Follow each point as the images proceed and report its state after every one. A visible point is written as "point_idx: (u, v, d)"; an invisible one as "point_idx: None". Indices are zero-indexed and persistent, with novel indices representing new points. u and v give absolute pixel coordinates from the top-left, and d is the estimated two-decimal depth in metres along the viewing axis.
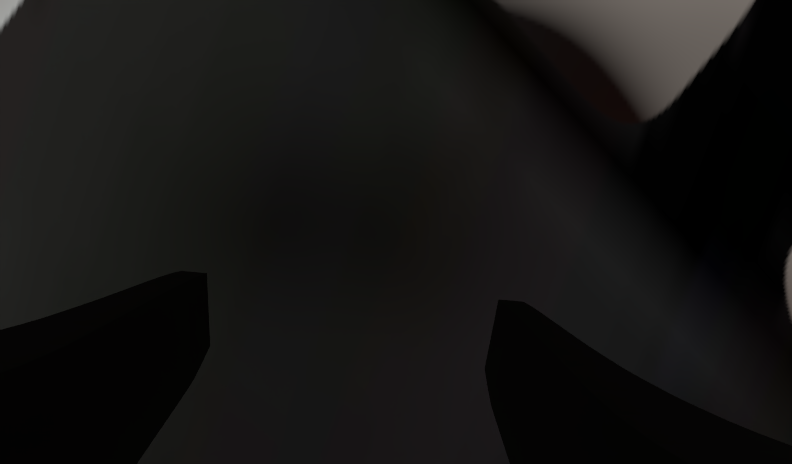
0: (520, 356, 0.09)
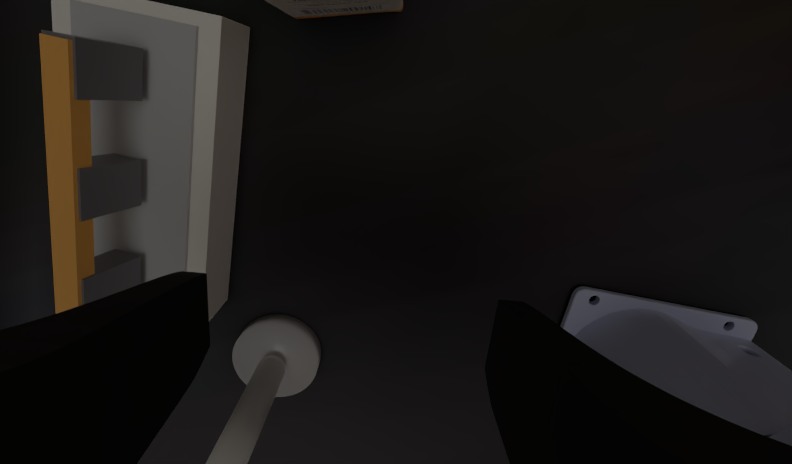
0: (521, 356, 0.09)
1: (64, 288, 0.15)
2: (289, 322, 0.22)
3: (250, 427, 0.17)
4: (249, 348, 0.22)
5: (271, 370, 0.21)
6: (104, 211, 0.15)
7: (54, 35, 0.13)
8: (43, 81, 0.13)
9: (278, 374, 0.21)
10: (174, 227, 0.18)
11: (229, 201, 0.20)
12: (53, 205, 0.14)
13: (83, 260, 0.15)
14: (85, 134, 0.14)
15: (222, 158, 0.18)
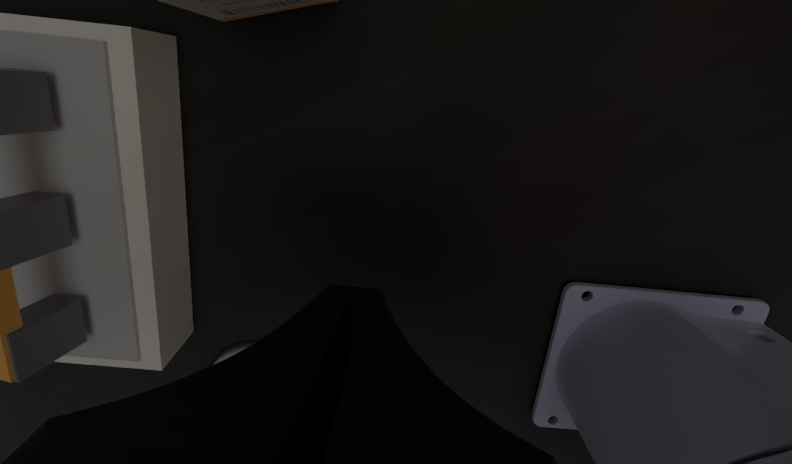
0: None
1: None
2: None
3: None
4: None
5: None
6: (24, 257, 0.14)
7: None
8: None
9: None
10: (114, 264, 0.16)
11: (177, 228, 0.18)
12: None
13: (5, 314, 0.14)
14: None
15: (160, 183, 0.16)
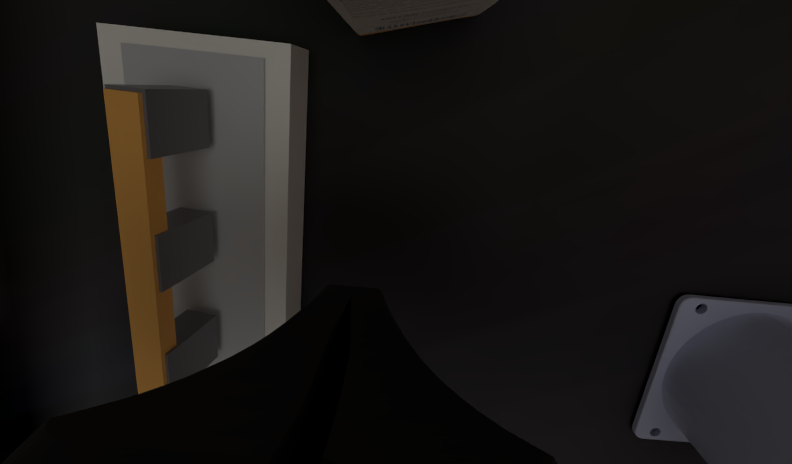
0: None
1: (146, 365, 0.14)
2: None
3: None
4: None
5: None
6: (182, 276, 0.14)
7: (120, 89, 0.11)
8: (111, 142, 0.12)
9: None
10: (250, 280, 0.16)
11: (298, 242, 0.18)
12: (129, 278, 0.13)
13: (165, 333, 0.14)
14: (159, 195, 0.12)
15: (294, 198, 0.16)
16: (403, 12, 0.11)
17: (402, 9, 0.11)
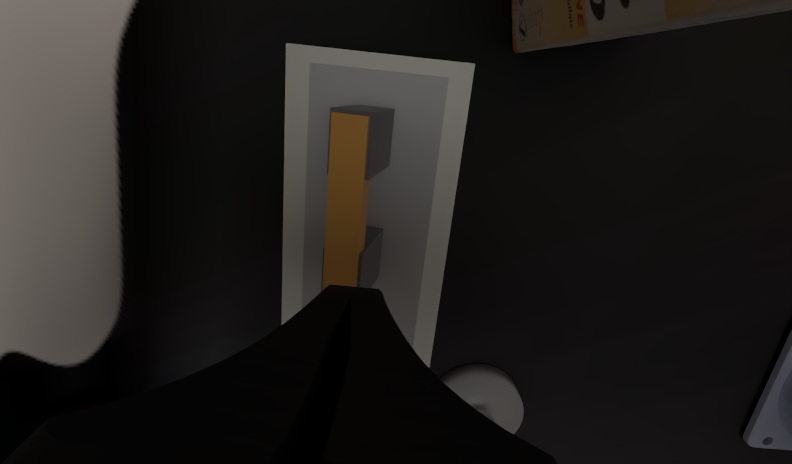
0: None
1: None
2: (491, 372, 0.21)
3: None
4: None
5: None
6: None
7: (348, 112, 0.11)
8: (331, 164, 0.12)
9: None
10: (407, 294, 0.16)
11: None
12: None
13: None
14: (365, 215, 0.13)
15: None
16: None
17: None
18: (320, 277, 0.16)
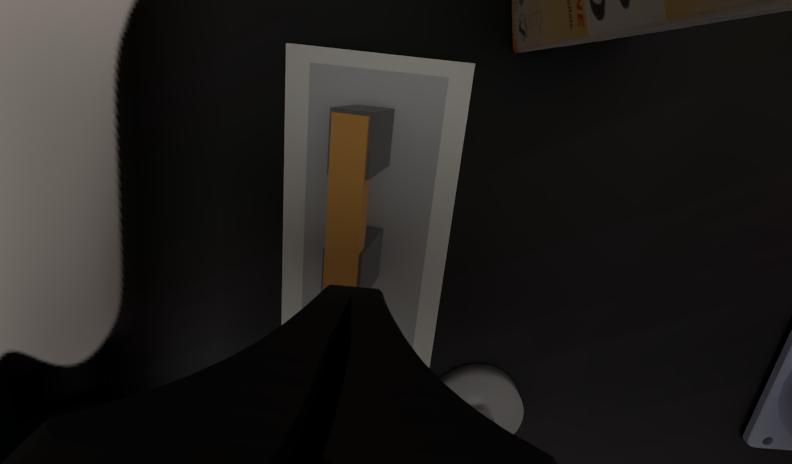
0: None
1: None
2: (491, 372, 0.21)
3: None
4: None
5: None
6: None
7: (348, 112, 0.11)
8: (331, 164, 0.12)
9: None
10: (407, 294, 0.16)
11: None
12: None
13: None
14: (365, 215, 0.13)
15: None
16: None
17: None
18: (320, 277, 0.16)
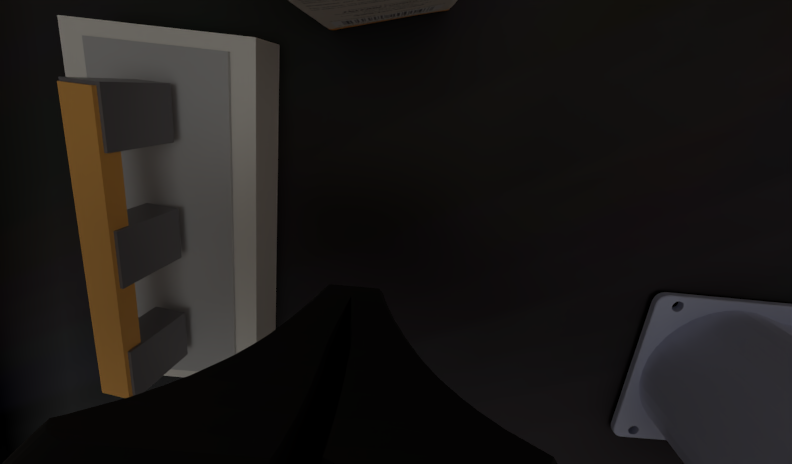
0: None
1: (109, 363, 0.14)
2: None
3: None
4: None
5: None
6: (145, 272, 0.14)
7: (74, 81, 0.11)
8: (66, 136, 0.11)
9: None
10: (219, 276, 0.16)
11: (271, 239, 0.18)
12: (89, 274, 0.13)
13: (128, 330, 0.13)
14: (118, 190, 0.12)
15: (264, 194, 0.16)
16: (363, 5, 0.11)
17: (359, 1, 0.11)
18: None
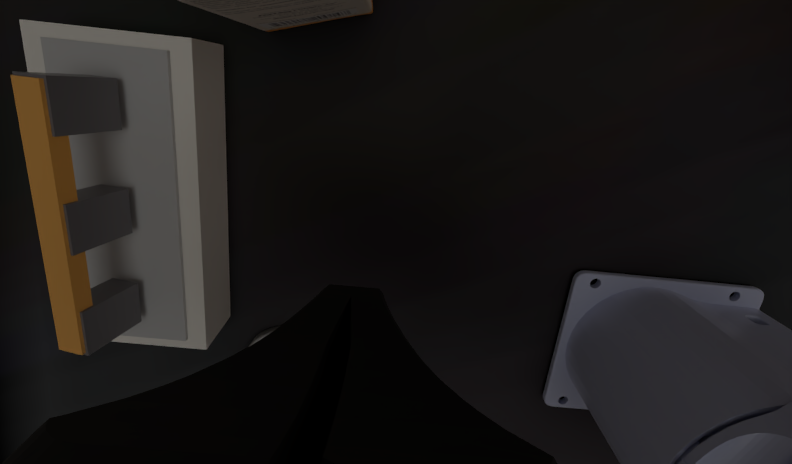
0: None
1: (64, 322, 0.16)
2: None
3: None
4: None
5: None
6: (95, 243, 0.16)
7: (25, 75, 0.13)
8: (20, 122, 0.13)
9: None
10: (168, 251, 0.18)
11: (220, 219, 0.20)
12: (44, 242, 0.15)
13: (79, 293, 0.15)
14: (67, 169, 0.14)
15: (209, 177, 0.18)
16: (270, 9, 0.13)
17: (263, 6, 0.12)
18: None
